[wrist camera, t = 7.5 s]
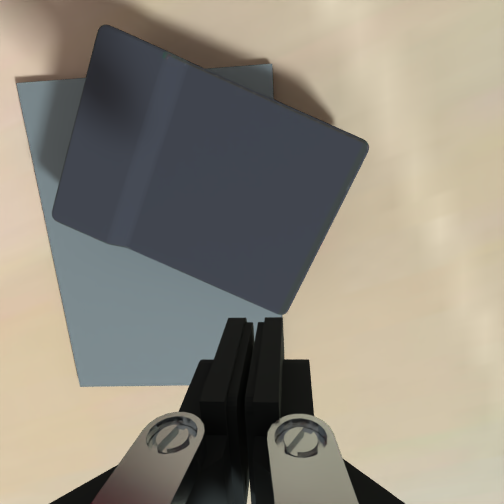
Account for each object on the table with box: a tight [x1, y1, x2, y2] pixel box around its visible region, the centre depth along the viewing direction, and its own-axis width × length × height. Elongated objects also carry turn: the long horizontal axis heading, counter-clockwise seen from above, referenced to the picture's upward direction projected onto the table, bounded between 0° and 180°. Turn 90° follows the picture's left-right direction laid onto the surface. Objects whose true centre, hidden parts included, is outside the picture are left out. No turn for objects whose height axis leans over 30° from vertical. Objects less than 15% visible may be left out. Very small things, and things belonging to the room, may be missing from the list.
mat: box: [16, 64, 282, 387], centre depth 26 cm, size 16×22×1 cm
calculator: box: [52, 25, 369, 315], centre depth 23 cm, size 11×4×15 cm
